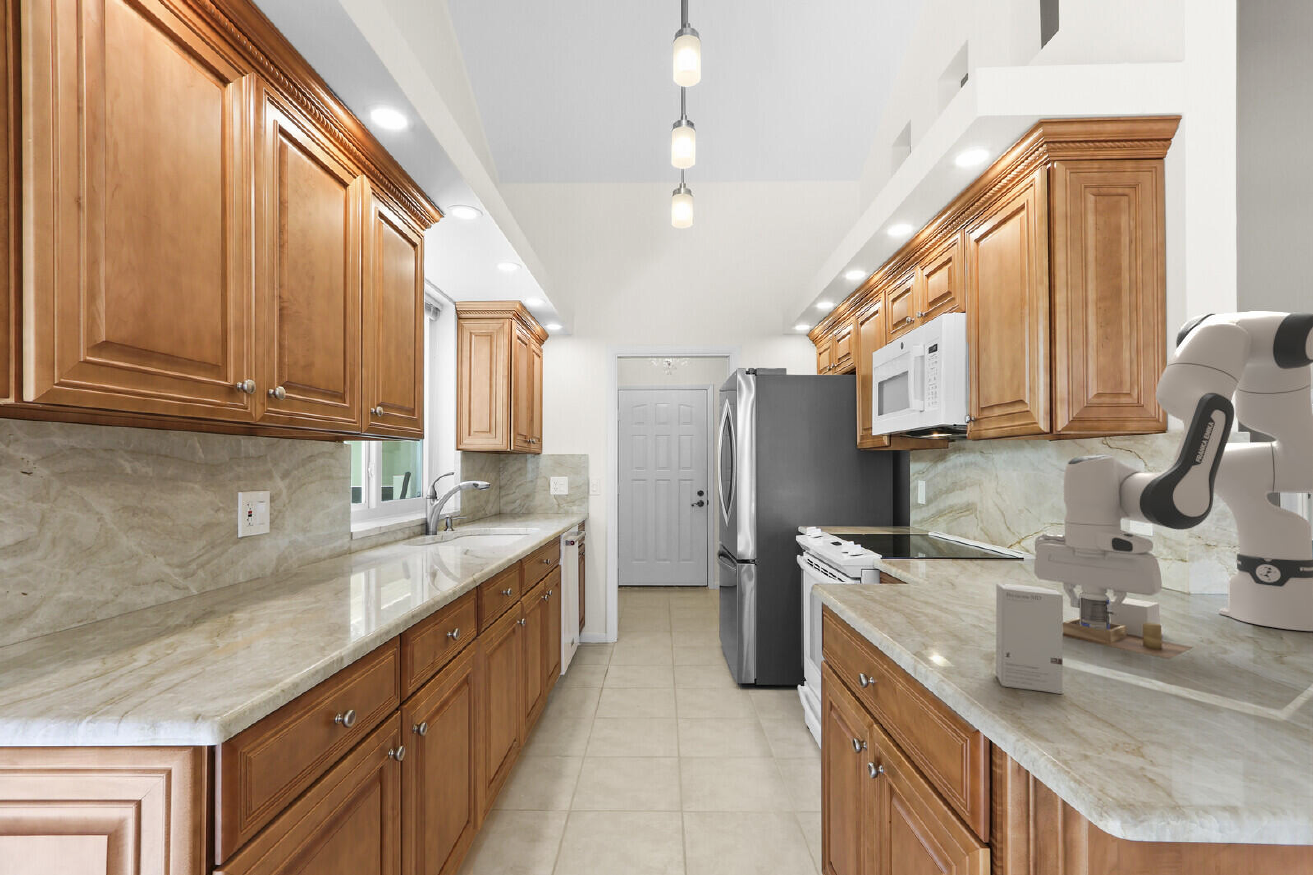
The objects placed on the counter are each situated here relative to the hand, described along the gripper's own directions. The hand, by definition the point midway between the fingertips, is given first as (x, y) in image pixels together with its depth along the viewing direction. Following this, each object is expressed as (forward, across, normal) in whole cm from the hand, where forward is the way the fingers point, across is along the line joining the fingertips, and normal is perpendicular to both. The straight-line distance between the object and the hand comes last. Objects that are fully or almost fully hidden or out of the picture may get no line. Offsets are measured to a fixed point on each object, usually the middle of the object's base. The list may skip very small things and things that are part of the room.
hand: (1094, 610), depth 115 cm
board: (+6, +4, 0) cm, 7 cm away
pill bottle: (+4, 0, 0) cm, 4 cm away
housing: (+6, +3, +9) cm, 11 cm away
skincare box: (+6, +4, -35) cm, 36 cm away
